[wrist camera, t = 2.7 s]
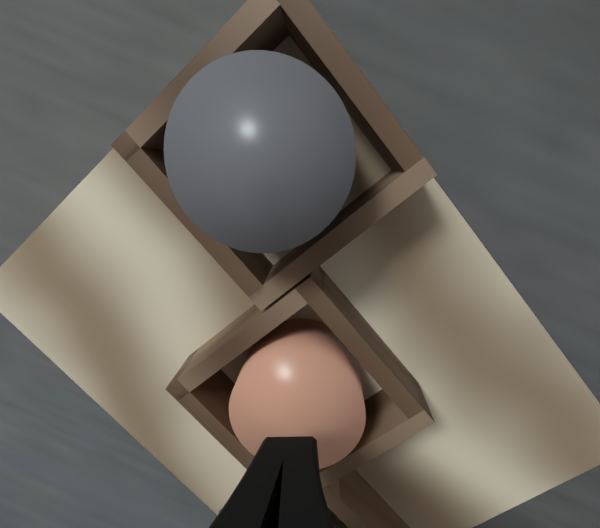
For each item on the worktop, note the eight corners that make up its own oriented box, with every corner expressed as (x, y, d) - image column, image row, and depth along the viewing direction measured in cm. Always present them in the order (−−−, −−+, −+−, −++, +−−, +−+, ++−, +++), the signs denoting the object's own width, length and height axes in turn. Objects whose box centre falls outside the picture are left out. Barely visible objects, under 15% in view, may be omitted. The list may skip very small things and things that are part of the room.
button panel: (286, -11, 12) (270, -77, 8) (609, 426, 15) (687, 499, 12) (3, 281, 15) (-84, 313, 12) (315, 578, 19) (312, 666, 16)
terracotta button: (309, 296, 13) (305, 327, 11) (382, 380, 14) (394, 428, 11) (223, 361, 14) (200, 404, 12) (295, 436, 15) (288, 491, 12)
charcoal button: (281, 41, 10) (266, -1, 7) (380, 169, 10) (396, 171, 8) (172, 150, 11) (124, 146, 8) (268, 260, 11) (251, 287, 9)
